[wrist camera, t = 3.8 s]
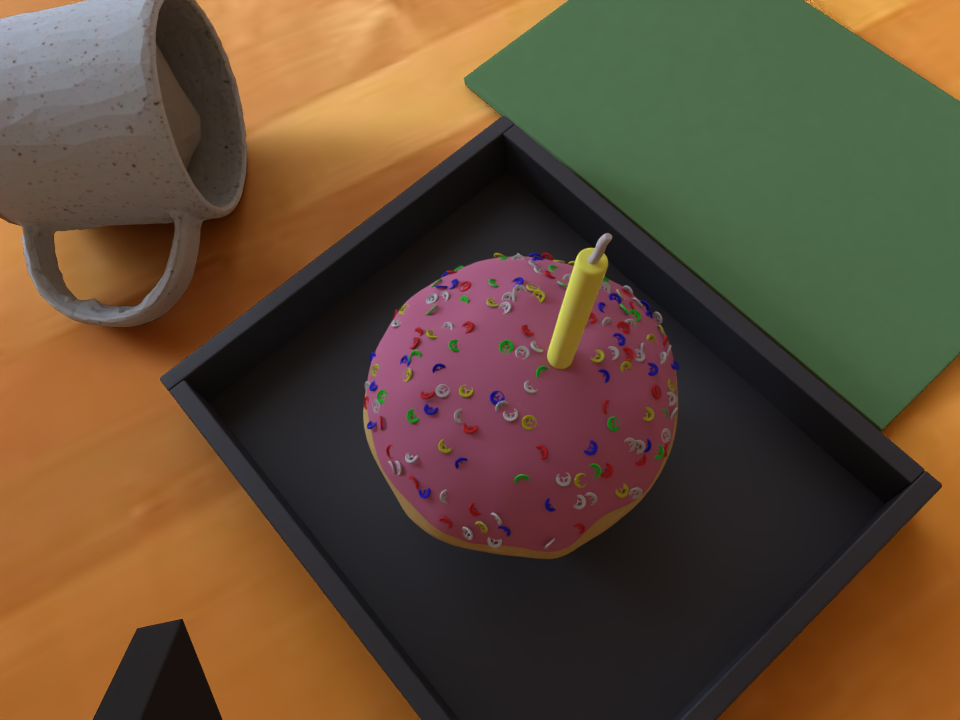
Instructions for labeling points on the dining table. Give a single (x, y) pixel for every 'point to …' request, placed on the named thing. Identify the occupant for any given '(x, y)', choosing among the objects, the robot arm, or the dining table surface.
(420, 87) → the dining table surface
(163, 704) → the robot arm
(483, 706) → the baking pan
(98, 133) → the ceramic mug
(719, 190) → the green cloth
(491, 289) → the cupcake
